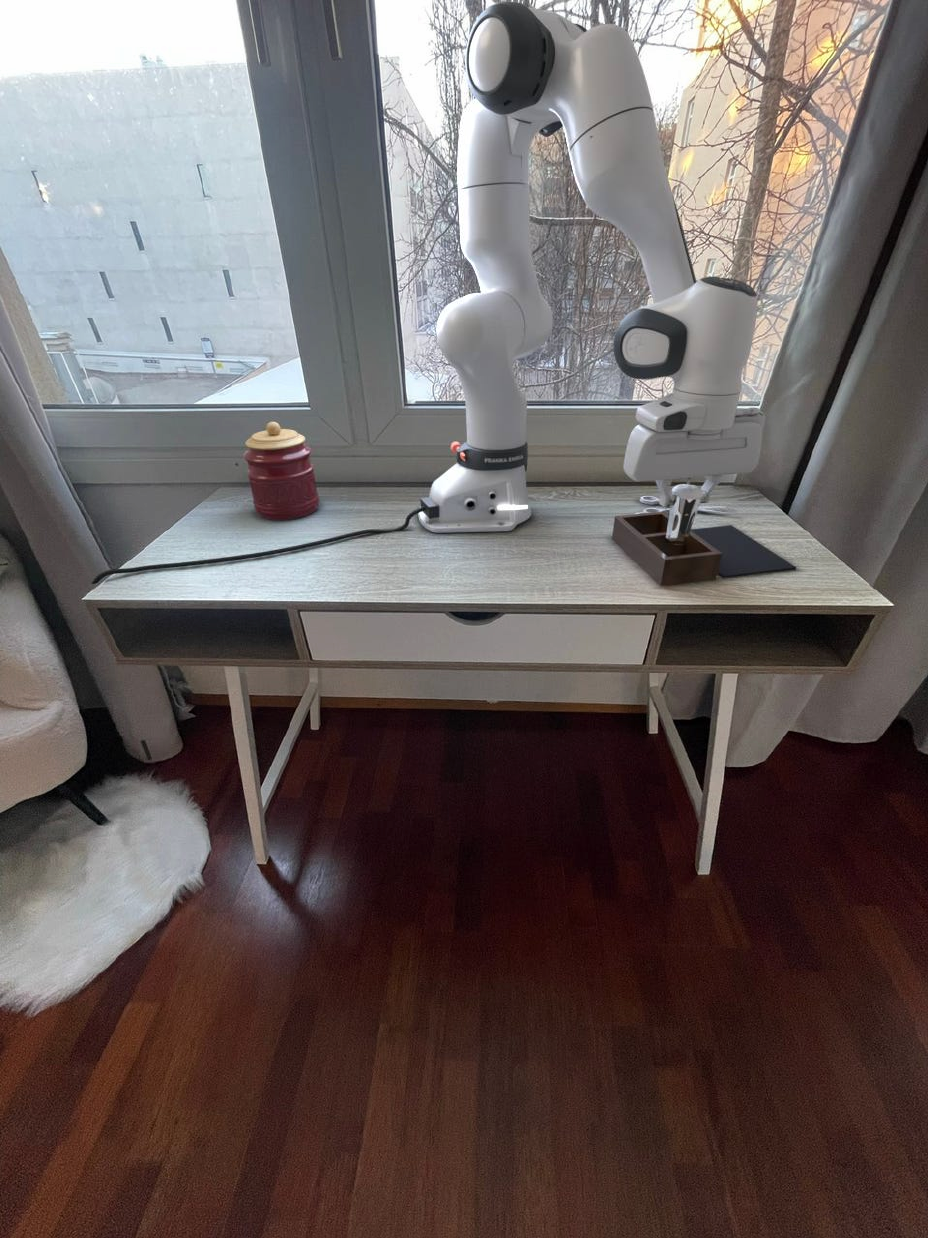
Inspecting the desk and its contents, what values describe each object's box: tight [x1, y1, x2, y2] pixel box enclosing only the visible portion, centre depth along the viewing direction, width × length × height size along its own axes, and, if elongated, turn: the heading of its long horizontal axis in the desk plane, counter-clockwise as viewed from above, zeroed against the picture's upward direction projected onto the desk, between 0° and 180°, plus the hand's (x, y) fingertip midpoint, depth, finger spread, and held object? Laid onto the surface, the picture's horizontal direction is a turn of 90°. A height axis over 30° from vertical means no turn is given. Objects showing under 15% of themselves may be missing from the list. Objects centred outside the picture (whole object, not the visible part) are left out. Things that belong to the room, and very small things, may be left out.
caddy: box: [611, 511, 722, 587], centre depth 99 cm, size 10×18×4 cm, turn 12°
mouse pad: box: [691, 524, 797, 579], centre depth 102 cm, size 13×18×1 cm
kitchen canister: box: [242, 421, 320, 521], centre depth 118 cm, size 13×13×18 cm
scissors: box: [634, 495, 741, 516], centre depth 117 cm, size 11×1×20 cm
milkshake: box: [666, 477, 703, 545], centre depth 91 cm, size 5×5×10 cm
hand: (683, 503), depth 91 cm, fingers closed on milkshake, 4 cm apart
